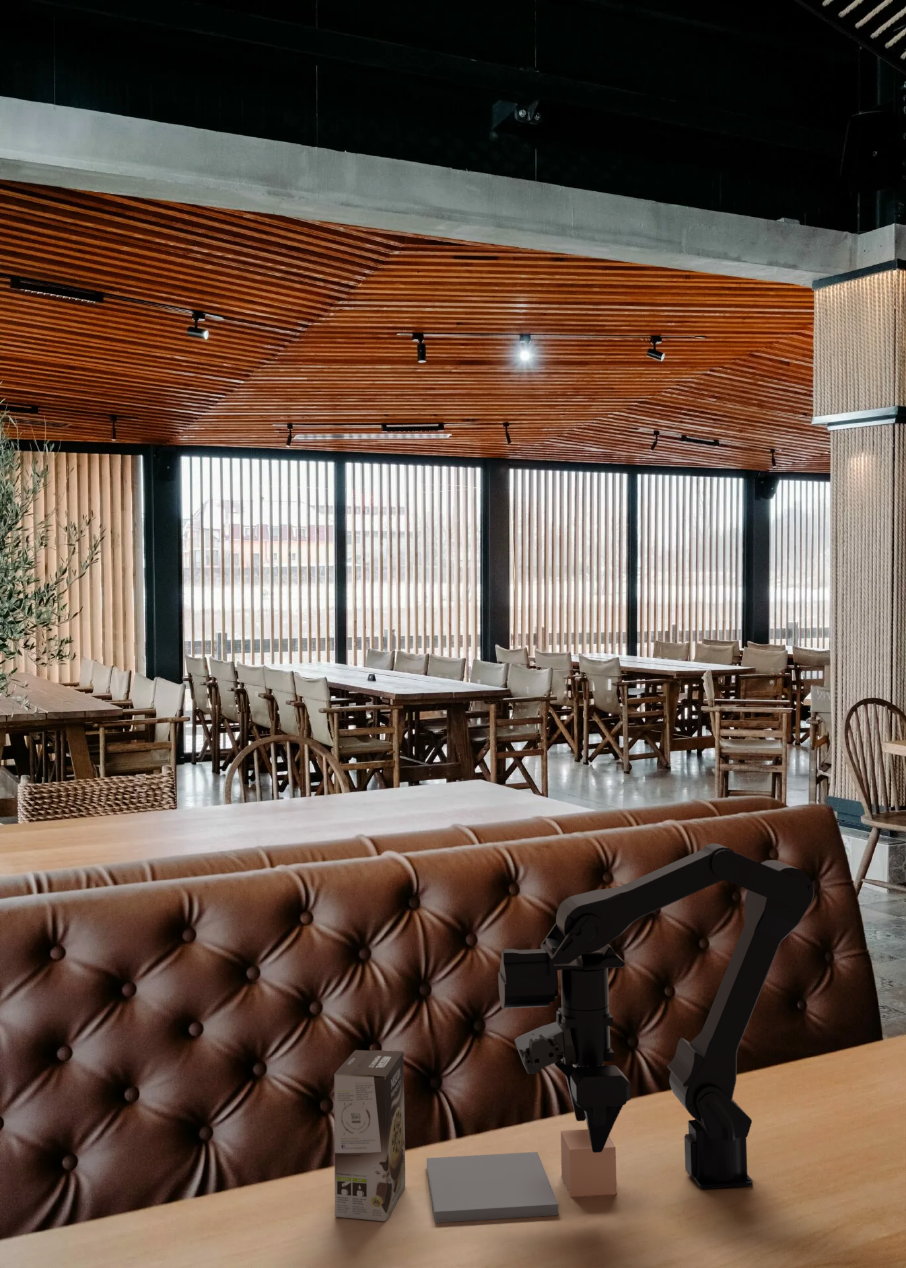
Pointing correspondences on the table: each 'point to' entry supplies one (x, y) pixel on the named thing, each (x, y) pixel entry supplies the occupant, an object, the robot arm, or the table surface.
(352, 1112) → the coffee box
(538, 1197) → the slate board
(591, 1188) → the terracotta block
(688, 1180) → the table surface
